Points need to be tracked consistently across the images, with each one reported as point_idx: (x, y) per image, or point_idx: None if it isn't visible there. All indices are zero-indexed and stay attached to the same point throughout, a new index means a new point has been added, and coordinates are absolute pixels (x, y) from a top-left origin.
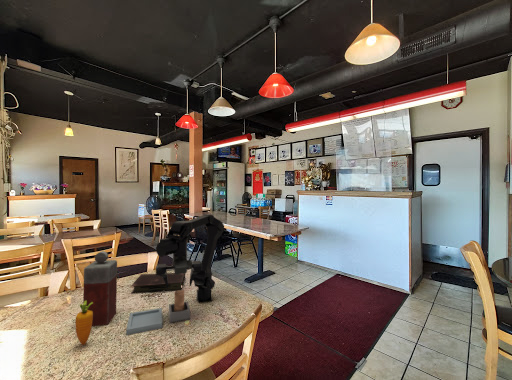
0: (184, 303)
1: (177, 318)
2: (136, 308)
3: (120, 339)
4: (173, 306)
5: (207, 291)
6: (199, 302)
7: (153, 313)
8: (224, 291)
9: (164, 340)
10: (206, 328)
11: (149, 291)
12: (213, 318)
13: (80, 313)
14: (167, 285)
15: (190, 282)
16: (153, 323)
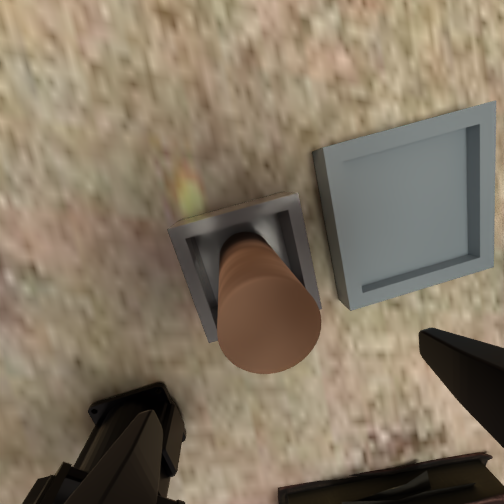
0: None
1: (245, 204)
2: None
3: (486, 75)
4: None
5: (91, 457)
6: (160, 384)
7: (379, 275)
8: None
9: (278, 21)
10: (53, 112)
11: (419, 470)
12: (35, 221)
13: None
14: (480, 353)
15: (116, 465)
16: (369, 148)
